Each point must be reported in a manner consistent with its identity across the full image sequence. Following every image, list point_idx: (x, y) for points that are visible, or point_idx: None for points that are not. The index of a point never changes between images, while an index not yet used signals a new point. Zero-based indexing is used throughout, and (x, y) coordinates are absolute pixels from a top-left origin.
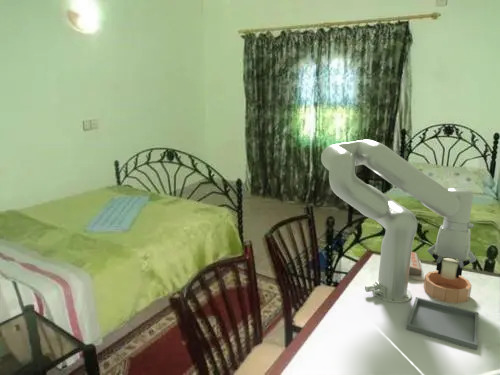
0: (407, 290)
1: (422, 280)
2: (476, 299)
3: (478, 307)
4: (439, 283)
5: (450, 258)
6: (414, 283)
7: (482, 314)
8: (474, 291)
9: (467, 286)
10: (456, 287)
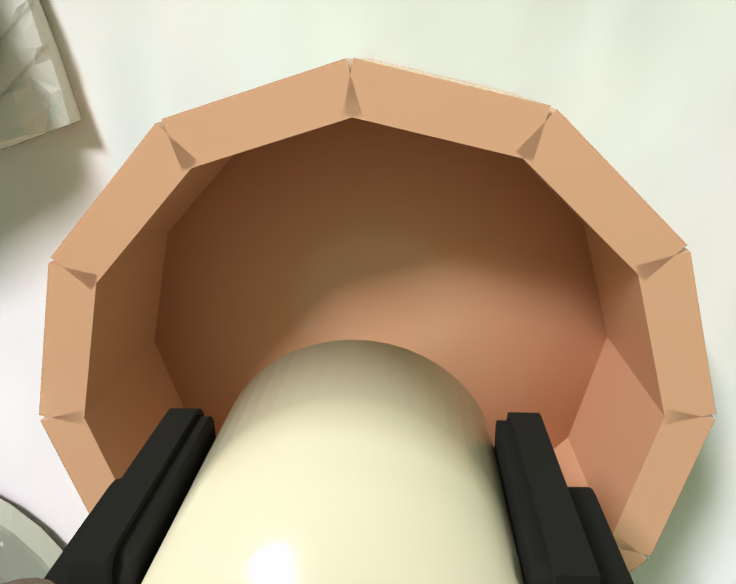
0: (11, 547)
1: (59, 126)
2: (717, 293)
3: (712, 461)
4: (270, 154)
5: (296, 577)
6: (9, 259)
7: (730, 570)
8: (724, 70)
9: (649, 471)
10: (491, 156)
